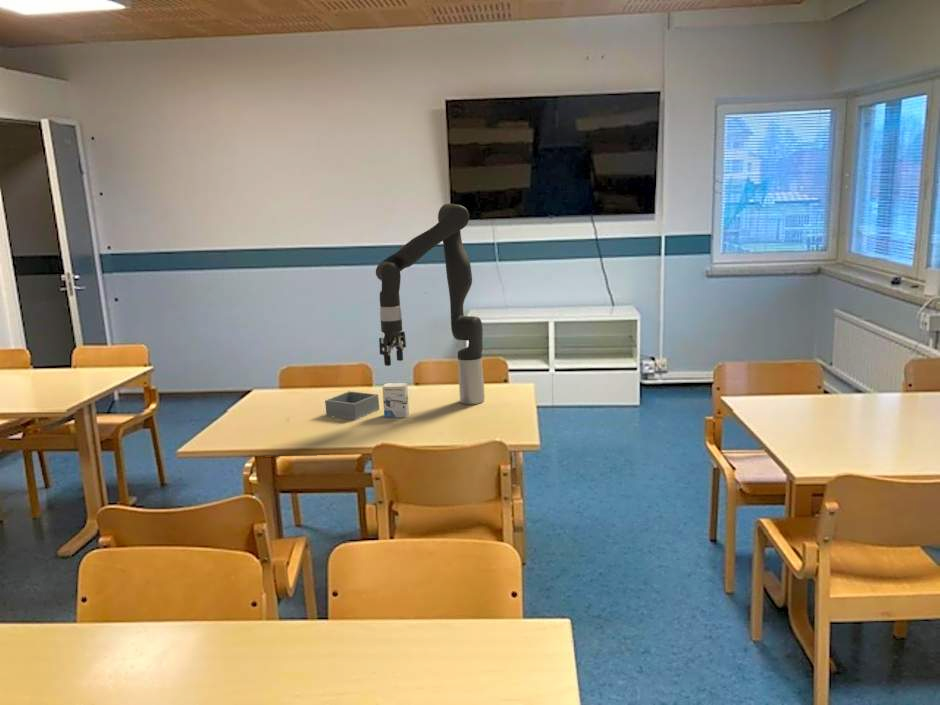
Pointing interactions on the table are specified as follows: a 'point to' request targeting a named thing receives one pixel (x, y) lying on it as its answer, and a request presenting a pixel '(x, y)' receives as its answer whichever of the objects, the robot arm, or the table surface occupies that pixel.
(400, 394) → the ink box
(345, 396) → the grey bin
